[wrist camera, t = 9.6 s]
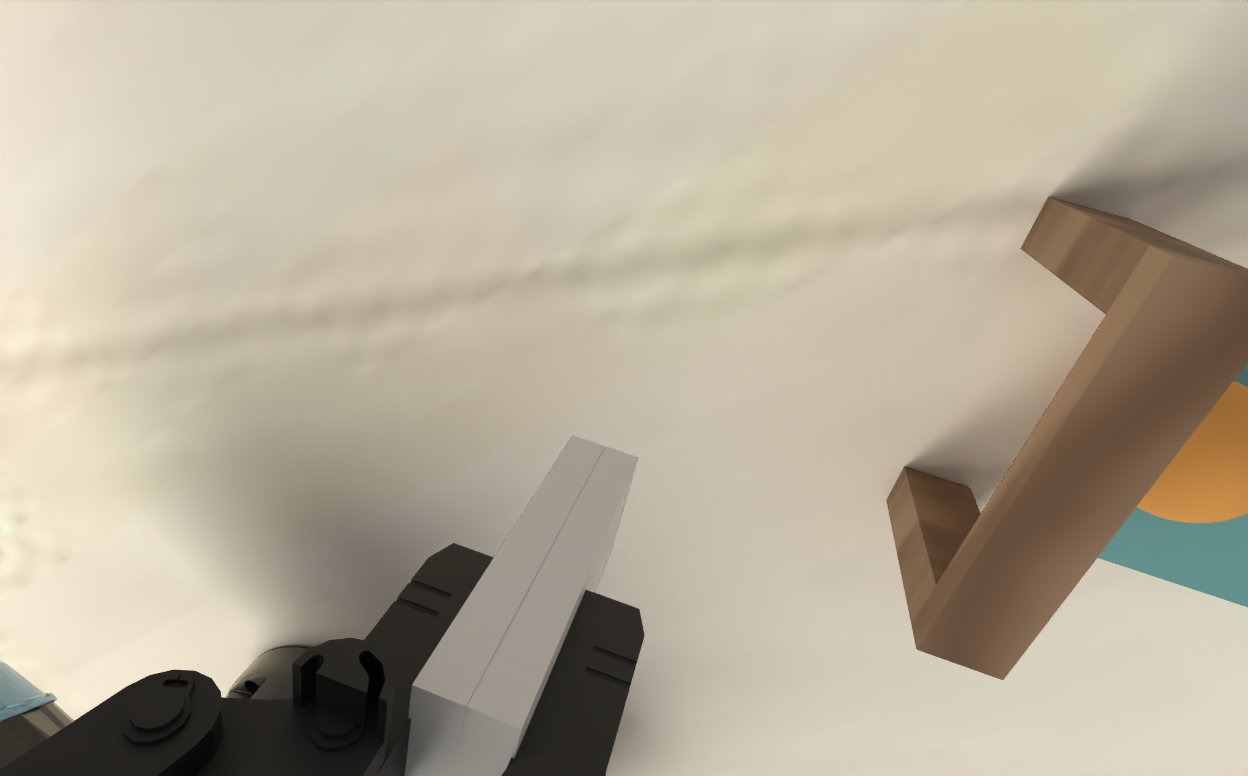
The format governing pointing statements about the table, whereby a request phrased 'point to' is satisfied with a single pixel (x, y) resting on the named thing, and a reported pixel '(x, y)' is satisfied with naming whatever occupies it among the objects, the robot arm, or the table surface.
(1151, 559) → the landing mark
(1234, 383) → the ball
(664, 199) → the table surface
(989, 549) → the bridge
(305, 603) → the table surface
